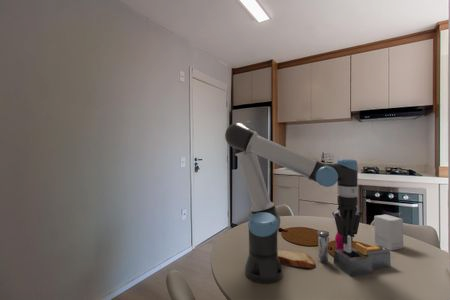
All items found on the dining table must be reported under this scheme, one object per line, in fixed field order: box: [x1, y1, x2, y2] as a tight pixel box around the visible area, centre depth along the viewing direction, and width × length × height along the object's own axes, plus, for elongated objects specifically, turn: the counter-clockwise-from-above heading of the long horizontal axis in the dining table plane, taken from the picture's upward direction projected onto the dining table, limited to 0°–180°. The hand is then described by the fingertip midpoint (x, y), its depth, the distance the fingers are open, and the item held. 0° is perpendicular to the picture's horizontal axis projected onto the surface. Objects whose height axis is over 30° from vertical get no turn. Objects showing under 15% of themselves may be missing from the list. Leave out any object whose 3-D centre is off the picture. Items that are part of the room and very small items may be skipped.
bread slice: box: [278, 250, 317, 269], centre depth 102 cm, size 18×18×4 cm
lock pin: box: [355, 242, 380, 255], centre depth 96 cm, size 9×5×3 cm, turn 100°
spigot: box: [316, 229, 330, 264], centre depth 101 cm, size 5×5×13 cm
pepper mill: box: [334, 216, 344, 250], centre depth 113 cm, size 7×7×20 cm
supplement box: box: [373, 214, 404, 251], centre depth 115 cm, size 9×9×15 cm
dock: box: [333, 245, 391, 277], centre depth 96 cm, size 22×10×7 cm, turn 100°
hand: (347, 251), depth 95 cm, fingers closed
